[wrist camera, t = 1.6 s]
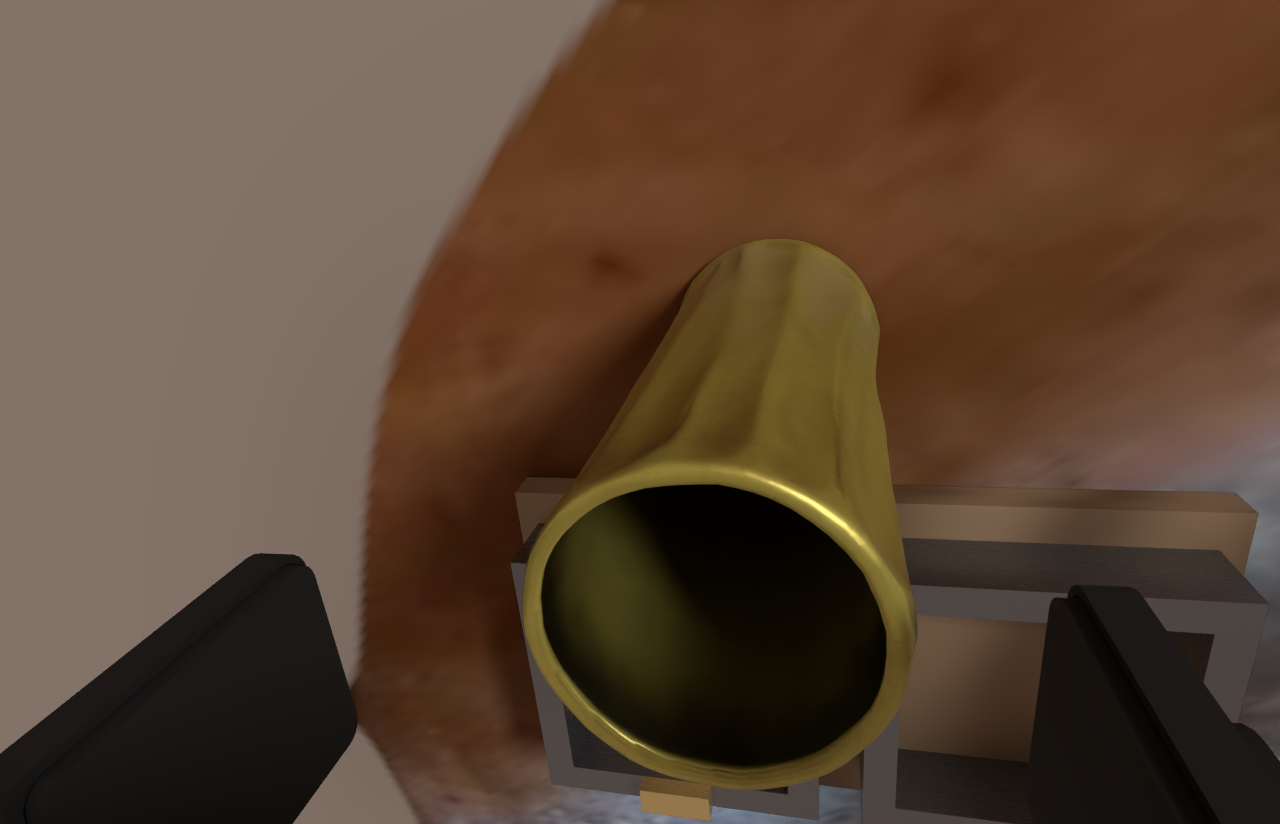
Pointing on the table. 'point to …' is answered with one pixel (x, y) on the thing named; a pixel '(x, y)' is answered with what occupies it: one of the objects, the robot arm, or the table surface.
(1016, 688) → the board
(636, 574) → the vase
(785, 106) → the table surface
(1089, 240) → the table surface
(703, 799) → the two-cubby wall shelf
